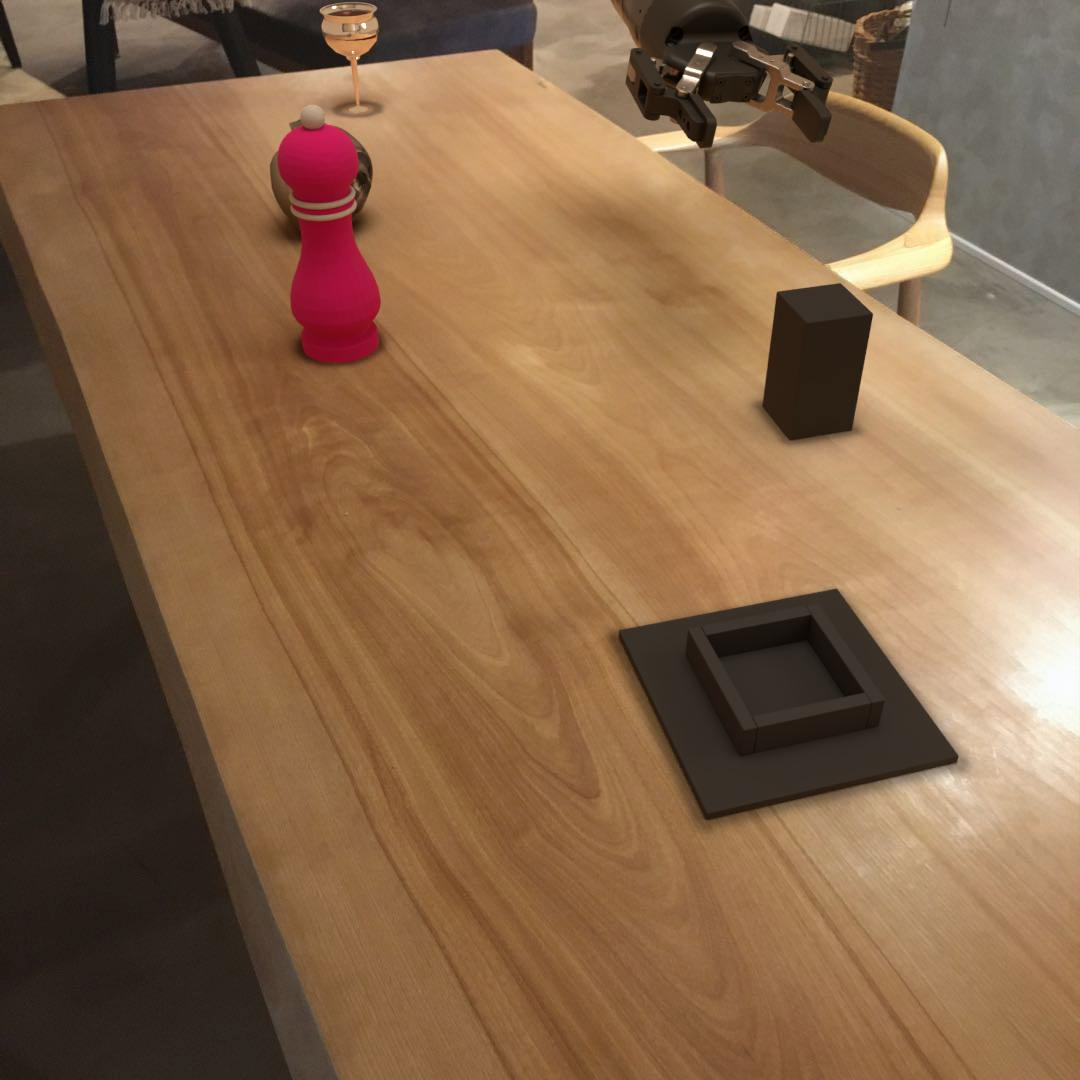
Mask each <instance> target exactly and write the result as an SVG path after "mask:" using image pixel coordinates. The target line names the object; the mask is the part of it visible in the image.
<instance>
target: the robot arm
mask: <svg viewBox="0 0 1080 1080" xmlns="http://www.w3.org/2000/svg"><path fill="white" fill-rule="evenodd" d="M609 1H610V2H611V4H612V6H613V8H614V10H615V12H616V13H617V14H618V16H619V17H620V18H621V20H622V22H623V23H624V25H625V26H626V27H627V29H628V31H629V34H630V37H631V39H632V40H633V42H634V44H635V46H636V47H633V48H631V49H630V52H629V59H628V65H627V70H626V75H625V82H624V83H625V86H626V87H627V89H628V91H629V93H630V95H631V96H632V98H633V100H634V102H635V104H636V106H637V107H638V110H639V112H640V113H641V115H642V117H643V118H644V119H645V120H647V121H649V122H650V121H651V122H655V121H659V120H660V118H661V116H664V117H669V121H670V122H671V123H673V124H675V125H678V126H679V127H680V129H681V130H682V131H683V133H684V134H685V136H686V137H687V139H688V140H690V141H691V142H694V143H696V145H697V146H698V148H699V149H702V150H703V149H711V148H712V147H713V145H714V140H715V136H716V132H717V126H718V121H717V118H716V116H715V114H714V113H713V112H712V111H711V109H710V108H709V106H708V105H707V104H706V103H705V102H709V104H710V105H715V104H716V105H717V104H724V103H729V102H730V103H739V104H740V103H742V104H745V105H748V106H750V107H752V108H753V109H754V108H755V109H757V110H759V111H761V112H764V113H766V114H768V113H771V112H773V111H774V110H776V111H777V112H780V113H782V114H785V115H786V116H789V117H791V120H792V121H793V123H794V124H795V125H796V126H797V127H798V129H799V130H800V132H801V133H802V134H803V135H804V137H805V138H806V139H807V140H808V141H809V142H810V143H811V144H820V143H821V144H822V143H823V141H824V140H825V136H827V134H828V131H829V127H830V124H831V121H832V117H833V116H832V115H833V114H832V112H831V111H830V110H829V109H828V108H827V106H826V104H827V100H828V97H829V93H830V91H831V88H832V86H833V82H834V79H833V77H832V76H831V75H830V74H829V73H828V72H827V71H826V70H825V69H824V68H823V67H822V66H821V65H820V64H819V63H818V62H817V61H816V60H815V59H814V58H813V57H812V56H811V55H810V54H809V53H808V52H807V51H806V50H805V49H804V48H803V47H802V46H801V45H799V44H796V43H788V44H786V47H785V51H784V54H773V55H771V54H769V52H768V51H767V50H766V49H764V48H762V47H760V46H758V45H757V44H755V43H754V39H753V36H752V35H753V34H752V31H751V28H750V26H749V22H748V21H747V18H746V16H745V15H744V14H743V12H742V11H741V10H740V9H739V7H738V6H737V5H736V3H734V2H733V0H609ZM768 74H769V76H770V79H769V84H768V88H767V91H766V94H765V95H764V94H761V93H759V92H760V90H761V89H762V86H763V85H764V83H765V81H766V78H767V76H768ZM785 87H786V88H787V89H788V90H789V91H790V92H791V93H792V94H793V97H792V100H789V99H787V98H785V97H784V95H783V93H784V89H785Z"/></svg>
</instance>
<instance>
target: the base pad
mask: <svg viewBox="0 0 1080 1080" xmlns="http://www.w3.org/2000/svg"><path fill="white" fill-rule="evenodd" d="M618 638H619V641H620V643H621V645H622V646H623V647H622V648H623V649H624V651H625V653H626V656H627V657H628V660H629V661H630V664H631V665H632V668H633V670H634V672H635V673H636V676H637V678H638V680H639V683H640V684H641V687H642V689H643V691H644V693H645V695H646V697H647V699H648V701H649V703H650V705H651V708H652V710H653V712H654V713H655V716H656V718H657V720H658V722H659V724H660V727H661V728H662V730H663V733H664V735H665V737H666V739H667V741H668V744H669V745H670V747H671V749H672V751H673V753H674V756H675V757H676V758H675V759H676V760H677V763H678V764H679V766H680V768H681V770H682V772H683V775H684V777H685V780H686V781H687V783H688V785H689V788H690V790H691V791H692V793H693V795H694V797H695V799H696V802H697V803H698V806H699V809H700V810H701V812H702V814H703V816H704V818H705V820H707V821H708V820H713V819H717V818H722V817H727V816H730V815H735V814H740V813H743V812H744V813H745V812H748V811H753V810H757V809H760V808H766V807H770V806H774V805H778V804H783V803H787V802H791V801H796V800H800V799H805V798H809V797H813V796H817V795H823V794H826V793H827V794H828V793H831V792H836V791H839V790H843V789H848V788H853V787H856V786H857V787H858V786H861V785H865V784H871V783H874V782H879V781H884V780H887V779H892V778H896V777H900V776H905V775H909V774H913V773H918V772H922V771H927V770H930V769H936V768H940V767H944V766H949V765H952V764H956V763H958V760H959V757H960V756H959V754H958V752H957V751H956V750H955V748H954V747H953V746H952V744H951V743H950V742H949V740H948V739H947V738H946V736H945V735H944V734H943V732H942V731H941V729H940V728H939V727H938V725H937V724H936V723H935V721H934V719H932V717H931V716H930V714H929V713H928V711H927V710H926V709H925V707H924V706H923V704H921V702H920V700H919V699H918V698H917V696H916V695H915V694H914V692H913V690H911V688H910V687H909V686H908V684H907V683H906V681H905V680H904V678H903V677H902V676H901V674H900V673H899V672H898V670H897V669H896V668H895V667H894V665H893V664H892V662H891V661H890V659H889V658H888V657H887V655H886V654H885V652H884V651H883V650H882V648H881V647H880V645H879V644H878V643H877V641H876V640H875V638H874V637H873V636H872V635H871V633H870V632H869V630H868V629H867V627H866V626H865V625H864V623H863V622H862V621H861V620H860V618H859V617H858V615H857V614H856V612H855V611H854V609H852V607H851V605H850V604H849V603H848V601H847V600H846V599H845V597H844V596H843V595H842V593H841V592H840V591H839V589H838V588H832V589H827V590H822V591H815V592H811V593H806V594H801V595H796V596H791V597H785V598H780V599H775V600H774V599H773V600H769V601H765V602H758V603H754V604H749V605H744V606H739V607H733V608H728V609H723V610H717V611H712V612H707V613H702V614H696V615H691V616H685V617H680V618H676V619H669V620H665V621H659V622H655V623H649V624H645V625H644V624H643V625H639V626H633V627H629V628H623V629H619V630H618Z"/></svg>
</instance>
